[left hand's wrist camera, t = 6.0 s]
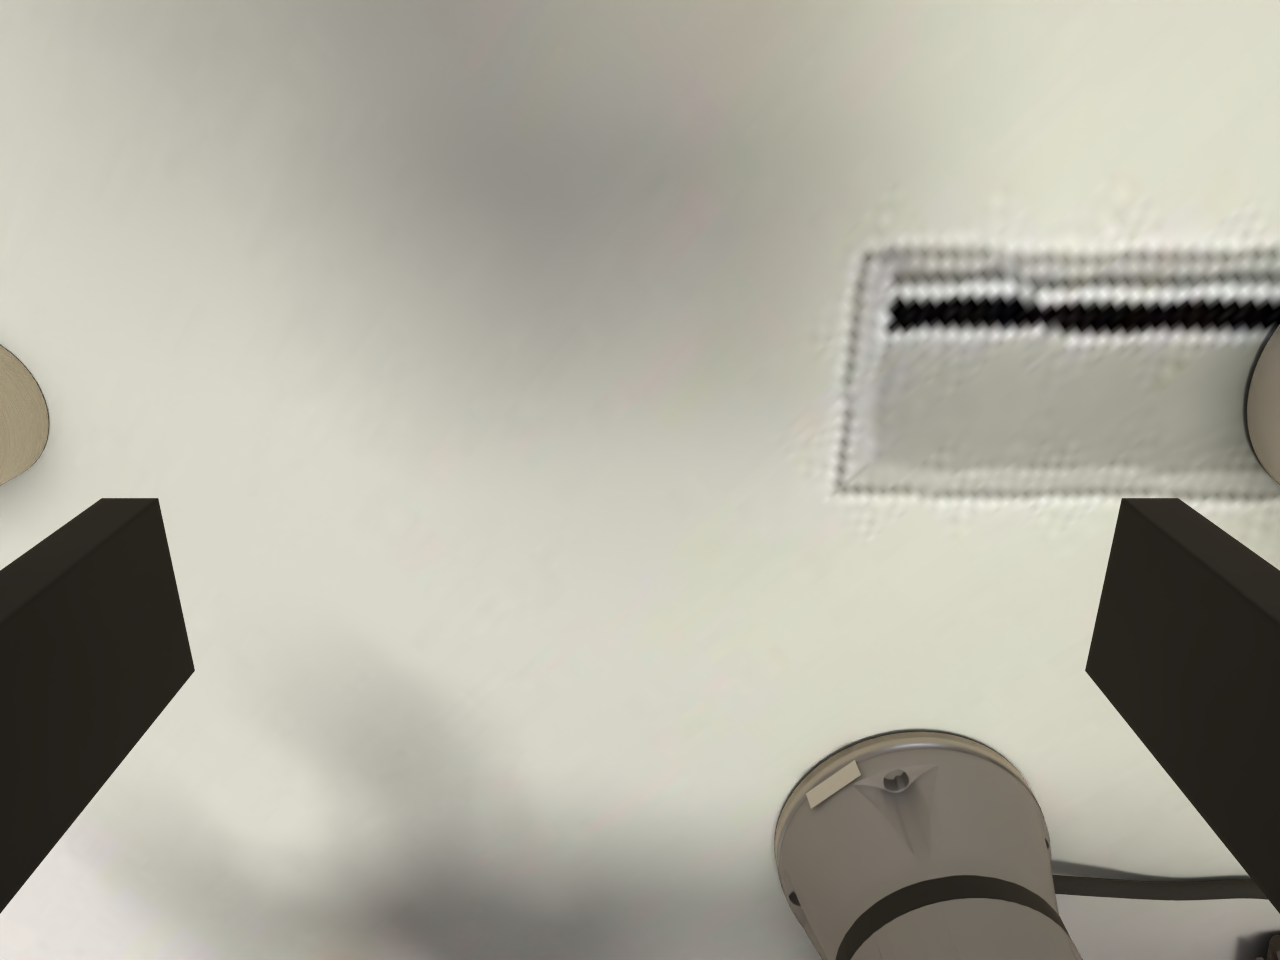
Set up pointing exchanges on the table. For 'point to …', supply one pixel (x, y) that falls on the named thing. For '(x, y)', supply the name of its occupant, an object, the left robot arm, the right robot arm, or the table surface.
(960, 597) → the table surface
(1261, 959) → the toy
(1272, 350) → the bust sculpture
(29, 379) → the bottle
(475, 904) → the table surface
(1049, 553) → the table surface
